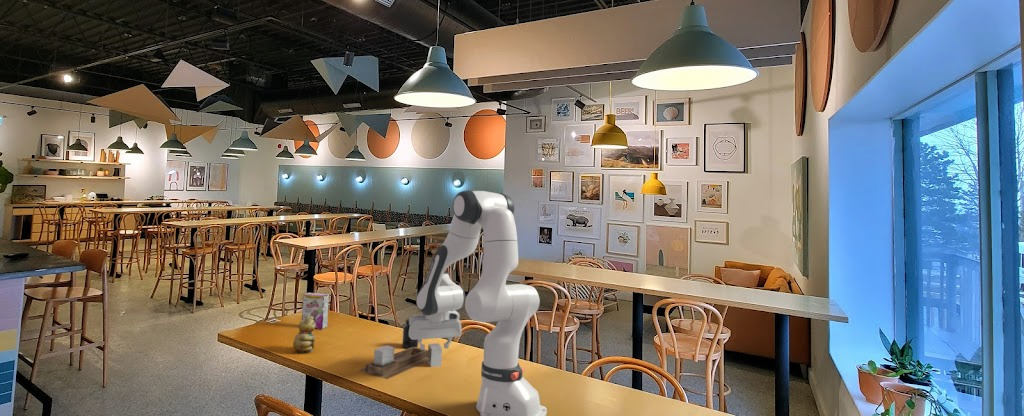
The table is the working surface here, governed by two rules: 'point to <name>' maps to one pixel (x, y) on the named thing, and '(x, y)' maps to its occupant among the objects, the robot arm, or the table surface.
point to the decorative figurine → (305, 335)
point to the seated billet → (383, 356)
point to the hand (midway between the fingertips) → (434, 349)
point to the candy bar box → (316, 308)
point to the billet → (434, 354)
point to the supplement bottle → (406, 339)
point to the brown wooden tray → (399, 363)
